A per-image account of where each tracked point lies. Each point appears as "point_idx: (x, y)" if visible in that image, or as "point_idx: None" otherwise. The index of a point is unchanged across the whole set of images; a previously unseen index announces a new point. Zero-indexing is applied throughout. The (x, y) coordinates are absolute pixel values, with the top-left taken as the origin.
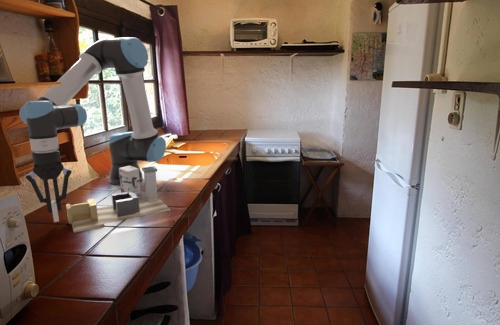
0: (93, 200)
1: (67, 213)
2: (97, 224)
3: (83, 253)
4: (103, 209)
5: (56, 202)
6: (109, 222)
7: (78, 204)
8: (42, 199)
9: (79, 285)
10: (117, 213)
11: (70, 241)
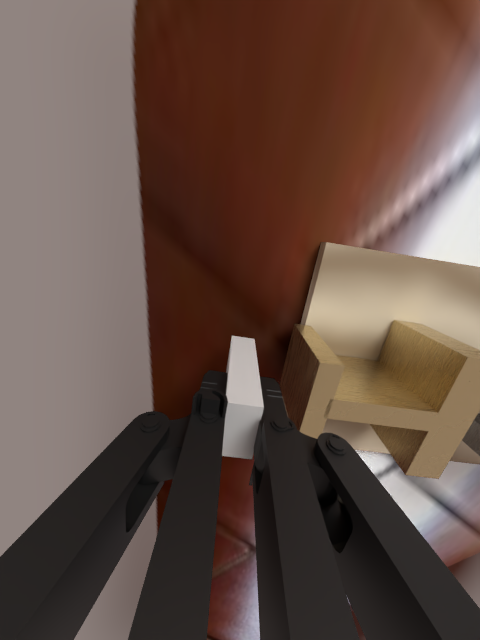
0: (478, 404)
1: (294, 389)
2: (358, 446)
3: (255, 544)
4: (474, 305)
5: (255, 445)
6: None
7: (375, 416)
8: (149, 490)
9: (215, 617)
10: (467, 436)
11: (247, 477)
